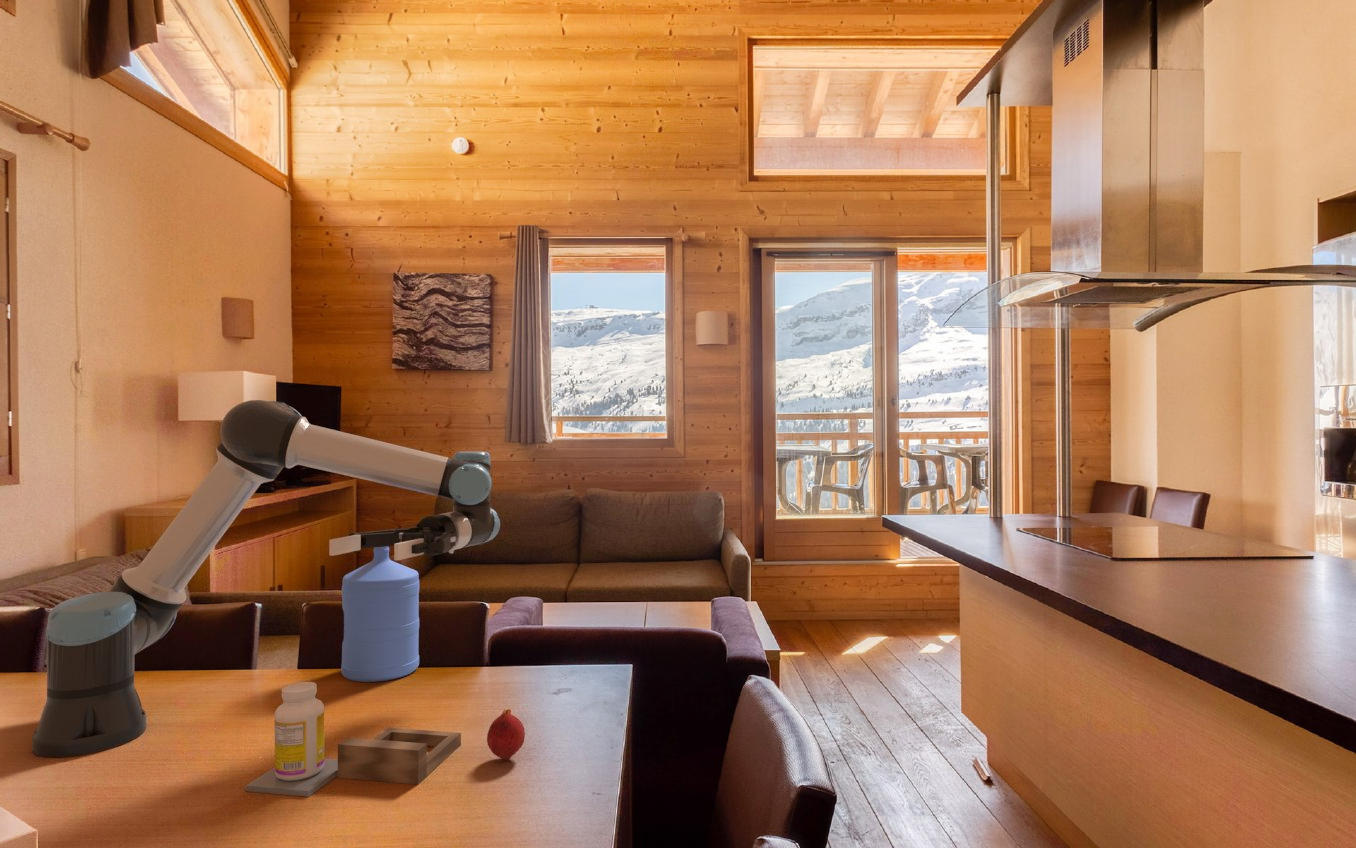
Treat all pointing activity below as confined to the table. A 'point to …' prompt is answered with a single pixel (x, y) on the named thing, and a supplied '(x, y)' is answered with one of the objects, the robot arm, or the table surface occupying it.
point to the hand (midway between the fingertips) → (362, 549)
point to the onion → (506, 735)
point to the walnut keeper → (395, 755)
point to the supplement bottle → (299, 733)
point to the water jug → (380, 620)
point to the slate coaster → (298, 787)
